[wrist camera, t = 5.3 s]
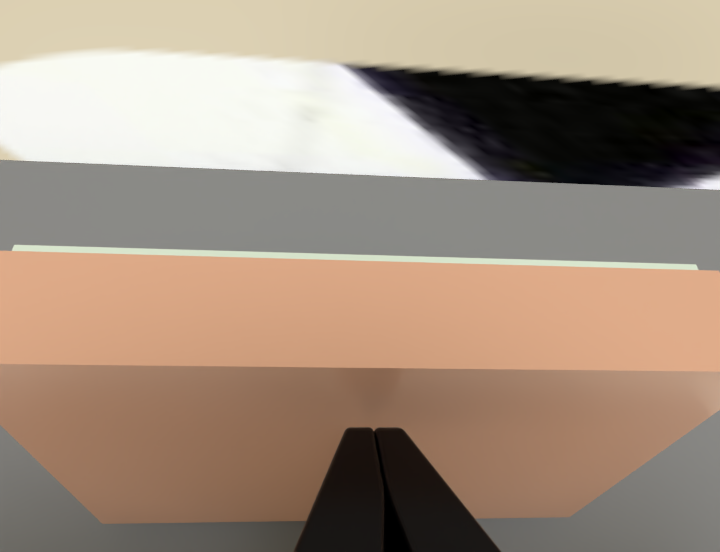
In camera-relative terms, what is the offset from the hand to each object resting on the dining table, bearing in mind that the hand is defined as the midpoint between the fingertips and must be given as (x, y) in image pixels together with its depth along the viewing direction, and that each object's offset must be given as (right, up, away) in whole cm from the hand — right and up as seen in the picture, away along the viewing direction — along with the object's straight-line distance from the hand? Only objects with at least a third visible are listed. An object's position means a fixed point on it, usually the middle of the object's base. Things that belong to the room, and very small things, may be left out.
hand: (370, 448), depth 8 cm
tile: (-1, -2, +5) cm, 6 cm away
